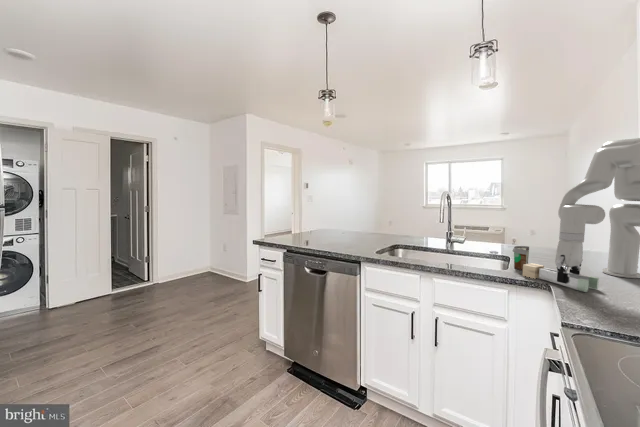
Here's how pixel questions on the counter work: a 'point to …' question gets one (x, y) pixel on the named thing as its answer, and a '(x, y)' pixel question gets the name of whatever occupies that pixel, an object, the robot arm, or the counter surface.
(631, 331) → the counter surface
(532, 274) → the hinge block
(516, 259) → the food container
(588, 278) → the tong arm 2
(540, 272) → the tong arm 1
